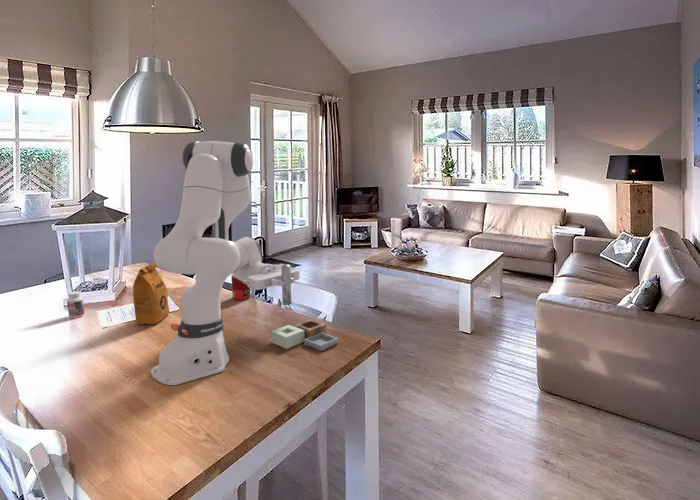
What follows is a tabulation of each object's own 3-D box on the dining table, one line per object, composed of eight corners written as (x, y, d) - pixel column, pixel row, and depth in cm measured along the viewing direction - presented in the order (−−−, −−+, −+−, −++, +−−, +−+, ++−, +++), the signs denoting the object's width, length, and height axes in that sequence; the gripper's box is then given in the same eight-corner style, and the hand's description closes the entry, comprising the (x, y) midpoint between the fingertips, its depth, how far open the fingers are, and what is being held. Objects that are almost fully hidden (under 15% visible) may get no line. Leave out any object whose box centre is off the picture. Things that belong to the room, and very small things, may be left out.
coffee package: (174, 315, 181) (169, 261, 176) (156, 327, 169) (150, 269, 164) (151, 314, 182) (145, 261, 178) (131, 325, 170) (125, 268, 166)
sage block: (286, 348, 149) (286, 337, 148) (271, 342, 154) (270, 331, 153) (304, 341, 155) (304, 330, 154) (289, 335, 160) (288, 324, 159)
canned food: (246, 301, 198) (245, 276, 196) (229, 300, 199) (228, 276, 197) (253, 295, 205) (252, 272, 203) (237, 295, 207) (235, 271, 205)
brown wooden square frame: (309, 341, 154) (309, 330, 154) (294, 335, 160) (293, 324, 159) (326, 334, 160) (326, 324, 159) (311, 329, 165) (310, 318, 165)
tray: (320, 351, 147) (320, 345, 146) (304, 344, 152) (304, 339, 151) (338, 343, 152) (337, 338, 152) (321, 337, 158) (321, 332, 157)
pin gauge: (286, 305, 159) (285, 266, 156) (280, 303, 161) (279, 265, 158) (293, 303, 161) (292, 265, 158) (287, 301, 163) (286, 263, 160)
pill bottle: (68, 319, 177) (65, 295, 175) (69, 315, 182) (66, 291, 180) (84, 317, 180) (81, 293, 178) (85, 313, 184) (82, 289, 182)
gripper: (239, 272, 160) (263, 279, 151) (284, 262, 175) (309, 268, 165) (240, 289, 161) (264, 297, 152) (285, 278, 176) (309, 285, 167)
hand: (288, 282), depth 159 cm, fingers closed on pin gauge, 3 cm apart
